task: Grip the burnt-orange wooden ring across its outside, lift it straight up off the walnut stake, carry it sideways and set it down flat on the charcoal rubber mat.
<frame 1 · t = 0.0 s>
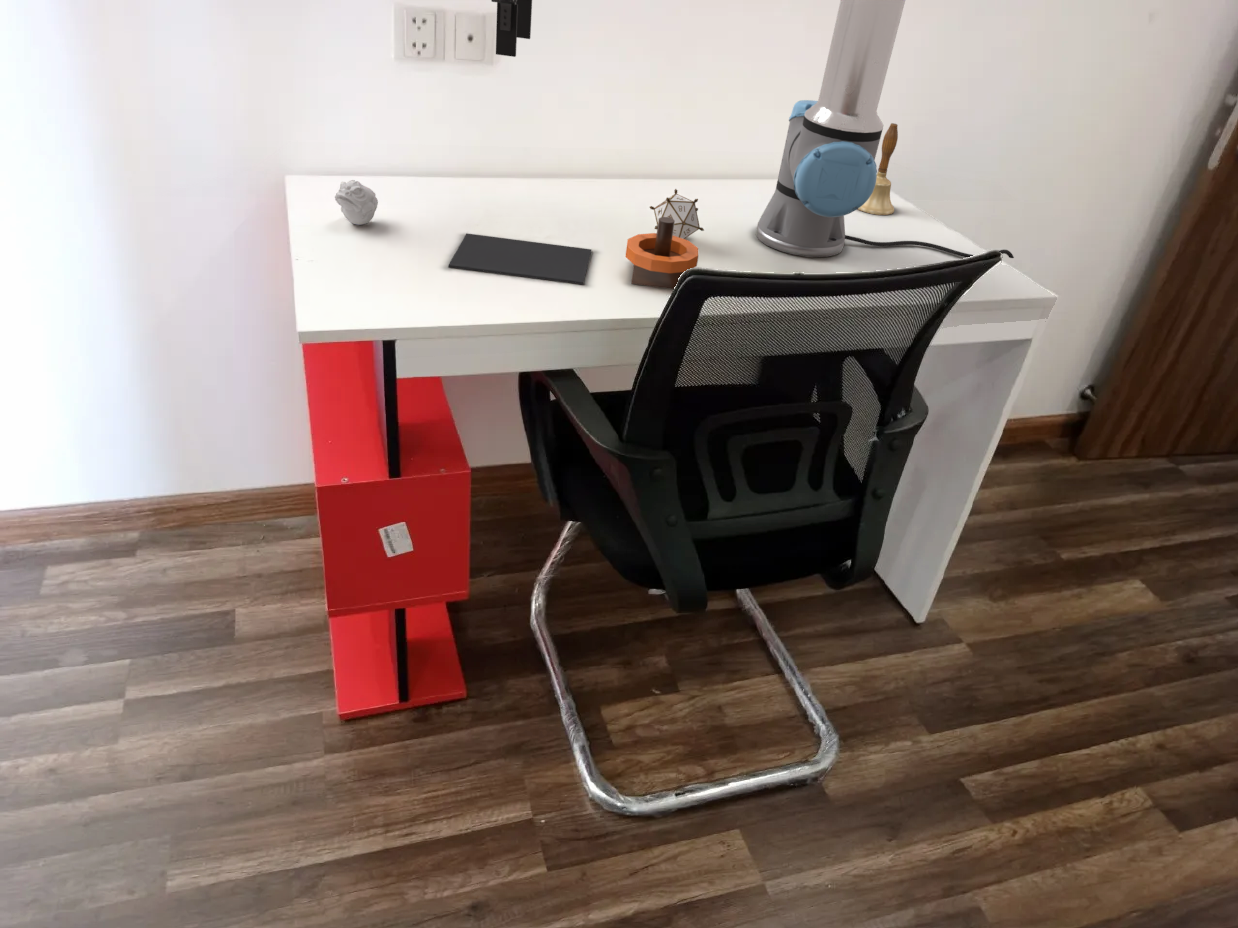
hand: (513, 46, 131), 28 cm above the table, tool pointing down, fingers open, 13 cm apart
frog figurine: (358, 225, 143), on the table
stake: (658, 276, 139), on the table
mat: (522, 259, 139), on the table
game die: (673, 242, 152), on the table
hand bell: (872, 208, 178), on the table
ring: (661, 258, 137), point 3 cm above the table, touching stake
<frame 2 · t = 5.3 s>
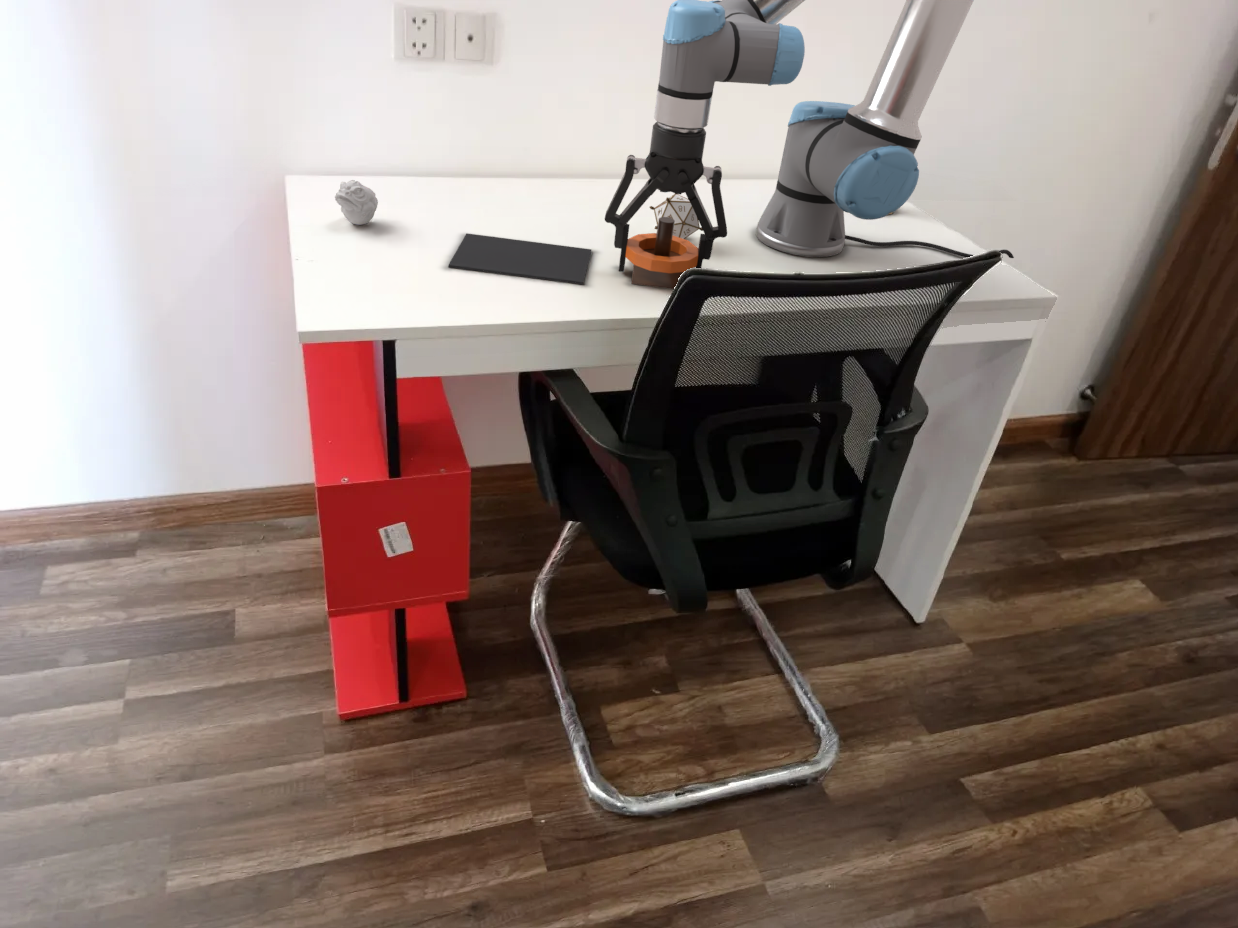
hand: (659, 273, 139), 1 cm above the table, tool pointing down, fingers closed on ring, 11 cm apart
ring: (661, 258, 137), point 3 cm above the table, touching gripper, stake
everything else where it was.
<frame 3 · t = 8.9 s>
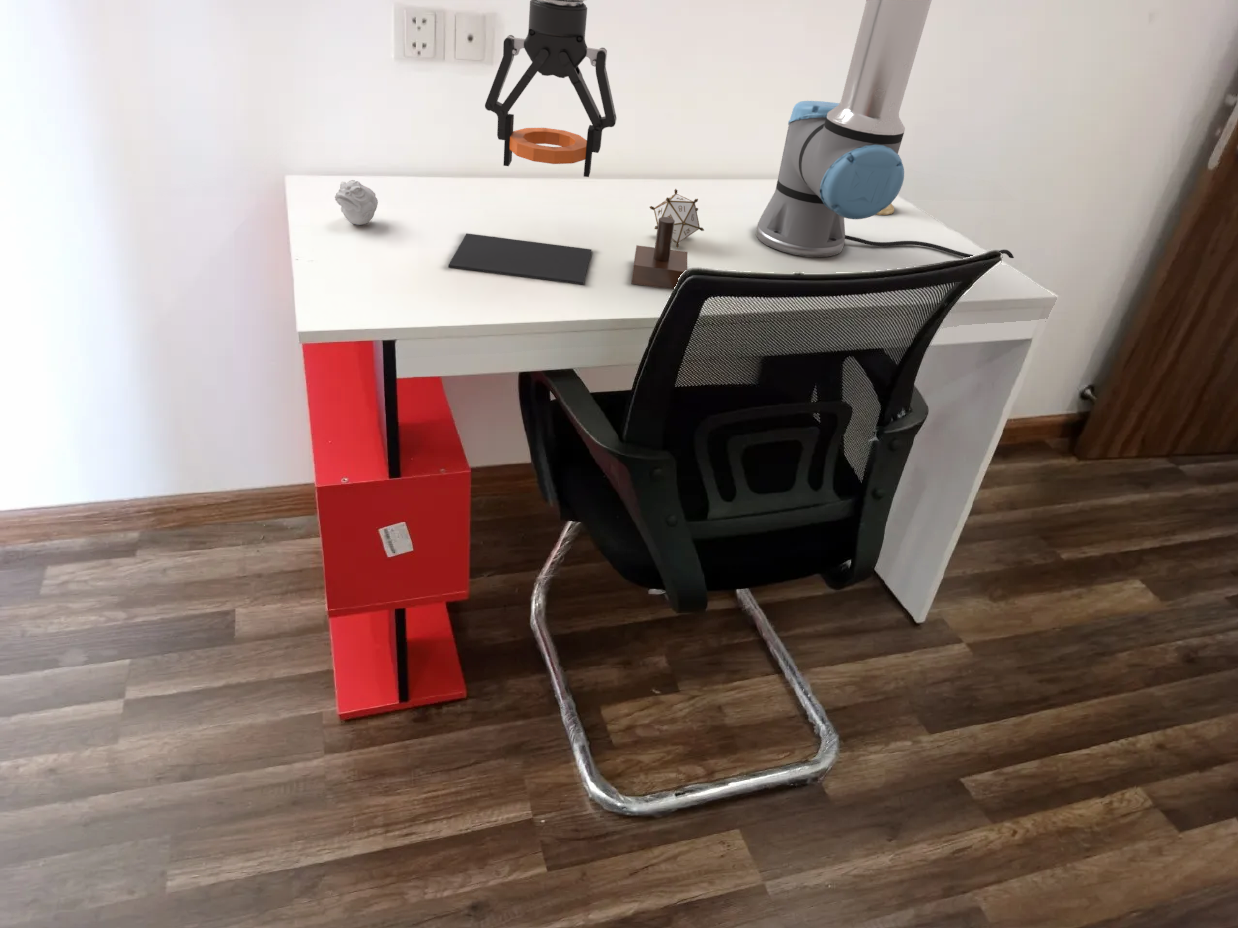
hand: (547, 168, 131), 14 cm above the table, tool pointing down, fingers closed on ring, 11 cm apart
ring: (548, 151, 129), point 17 cm above the table, touching gripper
everything else where it was.
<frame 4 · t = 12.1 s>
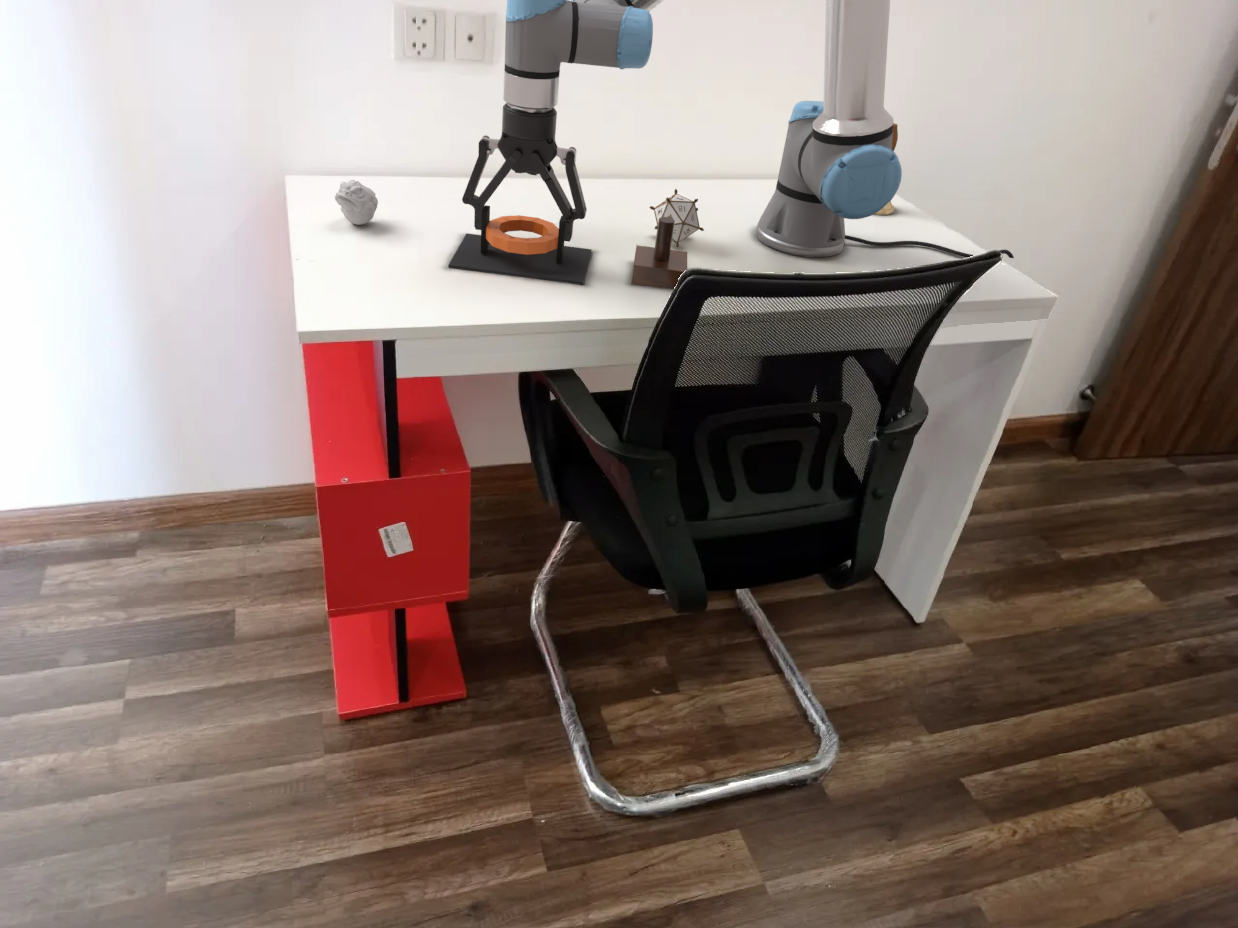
hand: (522, 255, 138), 1 cm above the table, tool pointing down, fingers closed on ring, 11 cm apart
ring: (523, 240, 137), point 3 cm above the table, touching gripper
everything else where it was.
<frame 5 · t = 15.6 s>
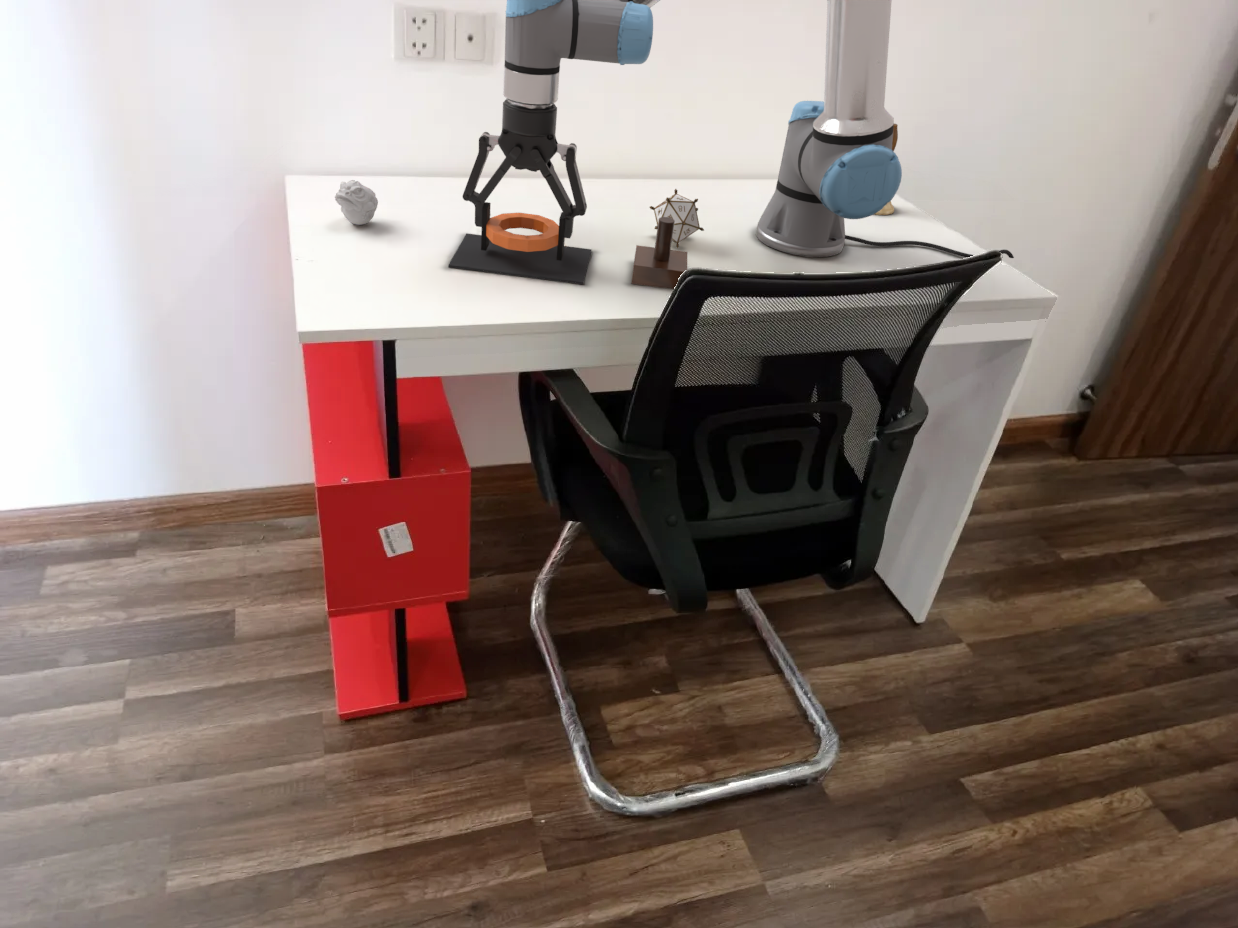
hand: (522, 252, 138), 1 cm above the table, tool pointing down, fingers closed on ring, 11 cm apart
ring: (523, 237, 137), point 3 cm above the table, touching gripper
everything else where it was.
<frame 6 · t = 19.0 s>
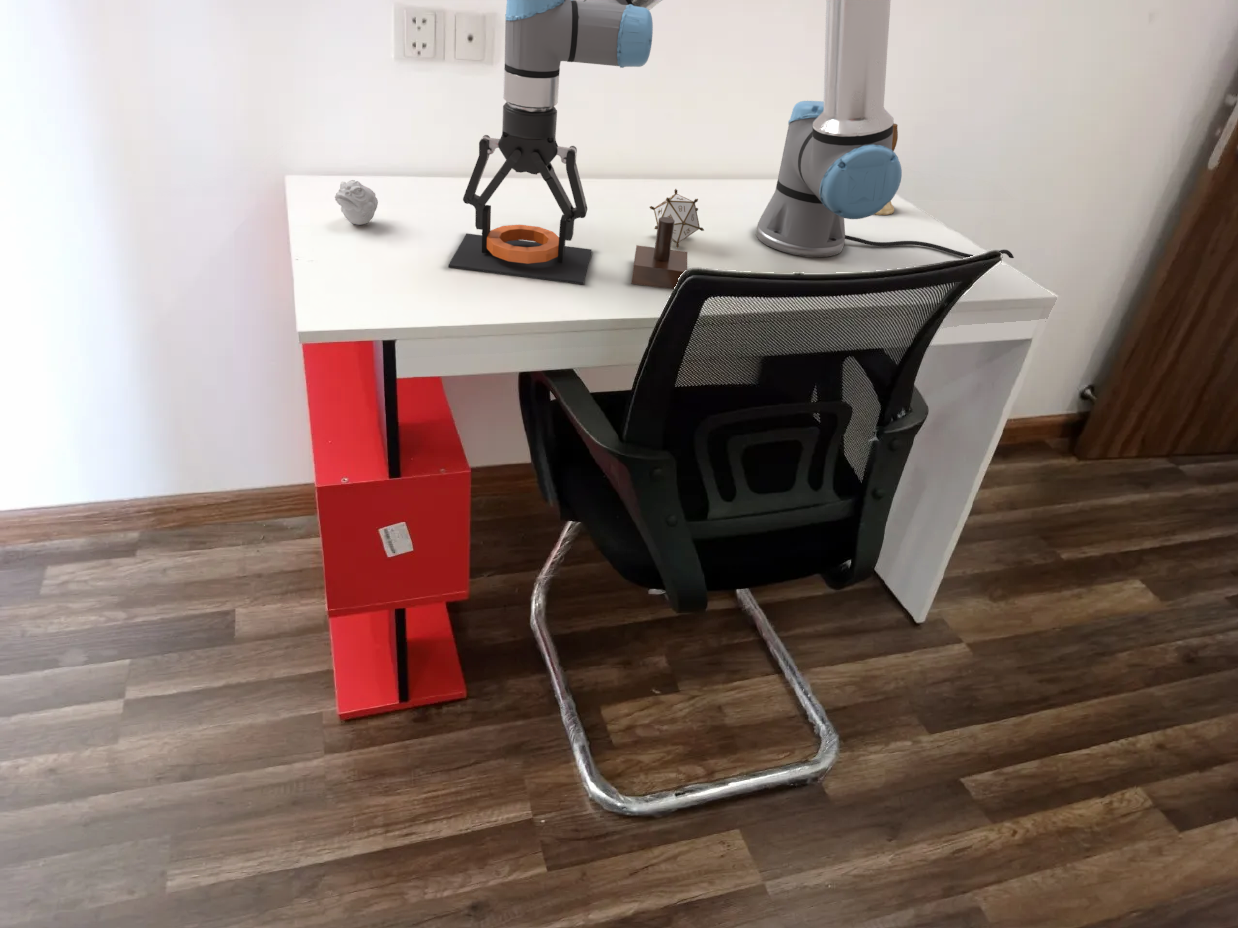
hand: (523, 254, 138), 1 cm above the table, tool pointing down, fingers closed on ring, 11 cm apart
ring: (523, 249, 138), point 2 cm above the table, touching gripper
everything else where it was.
when the fingers open (1 cm above the table, at t = 19.1 s): ring drops 1 cm, resting on mat.
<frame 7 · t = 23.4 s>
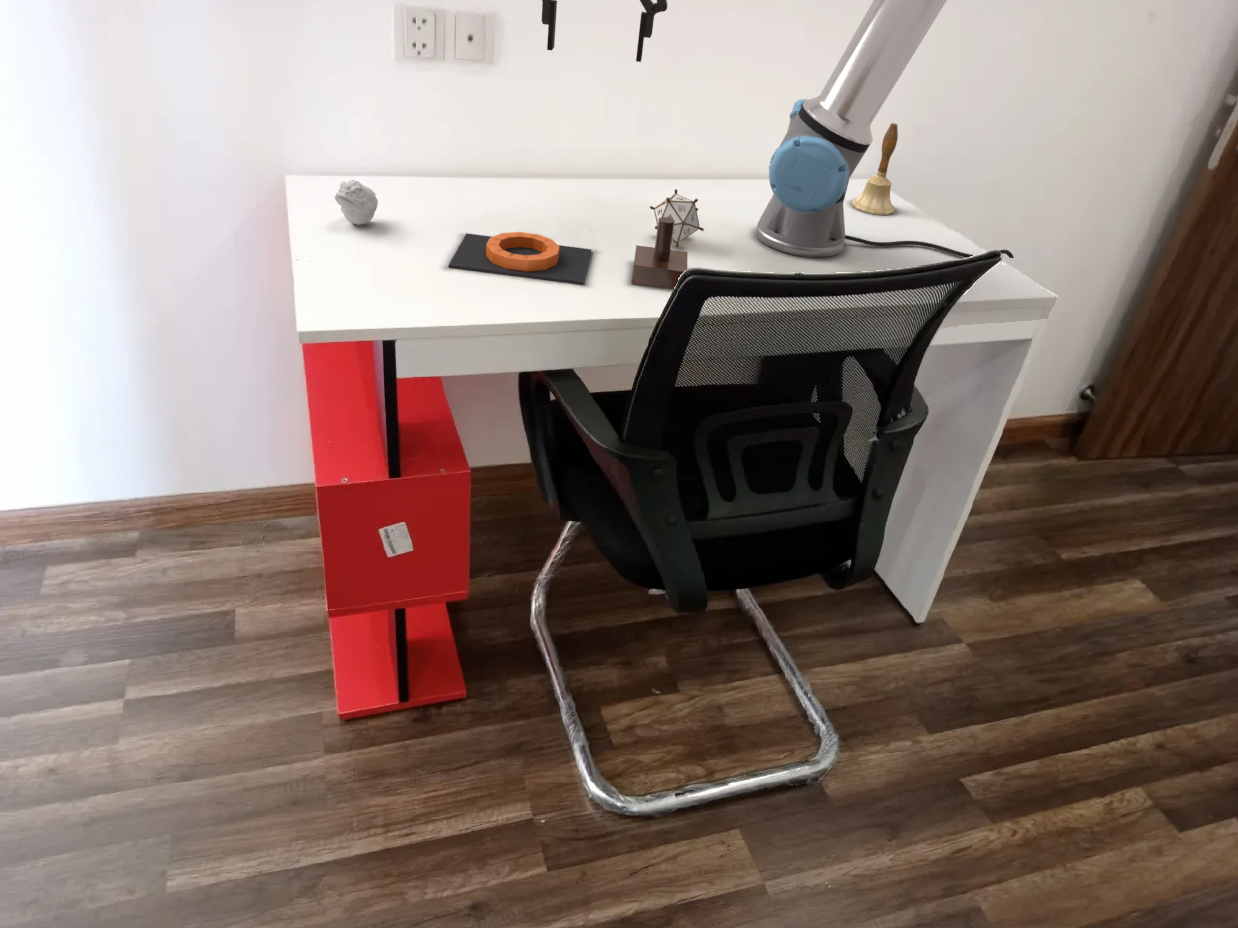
hand: (594, 54, 139), 27 cm above the table, tool pointing down, fingers open, 13 cm apart
ring: (522, 256, 139), resting on mat
everything else where it was.
at the end: ring inside the target area (0.0 cm from its centre), resting on mat; ring tilted 0°; the gripper is holding nothing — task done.
